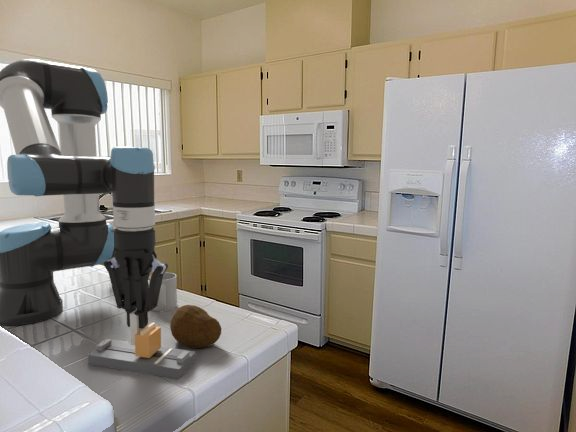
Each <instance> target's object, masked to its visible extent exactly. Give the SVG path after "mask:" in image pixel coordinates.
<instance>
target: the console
mask: <svg viewBox="0 0 576 432" xmlns="http://www.w3.org/2000/svg"><path fill="white" fill-rule="evenodd" d="M95 348H96V349H94V350H92V351H91V352H89V353H88V354H87V362H88V363H87V364H88V365H92V366H98V367H102V368H111V369H117V370H122V371H129V372H135V373H140V374H147V375H153V376H159V377H164V378H165V377H166V378H170V379H176V380H177V379H178V380H179V379H180V378H182V376H183V375H184V374H186V372H187V371H188V370H189V369H190V368H191V367H192V365H193V364H194V363H195V362H196V360H197V352H196V351H195V350H188V349H180V348H173V347H167V346H161V348H160V349H159V350H158V351H157V352H156V353H154V354H153V355H152V356H151V357H150V358H145V357H139V356H135V345H131V341H126V340H119V339H108V338H107V339H104V340H103V341H101V342H100V343H98V344H97V345H96V347H95Z"/></svg>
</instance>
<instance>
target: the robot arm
mask: <svg viewBox="0 0 576 432" xmlns="http://www.w3.org/2000/svg"><path fill="white" fill-rule="evenodd" d="M108 102H109V99H108V90H107V86H106V83H105V80H104V78H103V76H102V74H100V73H99V71H97V70H95V69H93V68H87V67H83V66H82V65H72V64H67V63H59V62H54V61H53V62H52V61H46V60H41V59H35V58H28V59H27V58H26V59H25V58H24V59H20V60H17V61H14V62H11V63H9V64H8V65H6V66H4V67H3V68H2V69H1V70H0V107H1V108H2V110H3V112H4V115H5V118H6V123H7V126H8V130H9V133H10V137H11V140H12V144H13V149H14V153H15V154H11V155H9V156H8V158H7V160H6V161H7V163H6V166H7V167H6V171H7V181H8V186H9V190H10V193H12V194H14V195H16V196H34V197H42V196H44V197H45V196H63V207H64V208H63V210H64V211H63V212H64V214H63V215H62V216H61V217H60V218H59V219H58V226H57V227H52V225H51V224H50V223H49V222H42V221H41V222H31V223H24V224H19V225H15V226H11V227H8V228H4V229H3V230H0V324H1V325H2V326H22V325H24V326H25V325H29V324H33V323H34V324H35V323H38V322H42V321H46V320H49V319H51V318H53V317H55V316H57V315H59V314H60V313H61V312H62V311H63V309H64V307H63V304H64V303H63V298H62V297H61V296H60V294H59V291H58V289H57V286H56V284H55V281H54V272H59V271H65V270H72V269H80V268H86V267H87V268H88V267H91V268H92V267H94V266H95V267H96V266H99V265H103V266H104V268H105V270H106V271H107V273H108V276H109V280H110V284H111V288H112V292H113V295H114V300H115V303H116V307H117V308H118V309H123V310H124V311H125V312H126V325H127V328H129V331H130V332H129V333H130V336H129V337H130V342H131V345H135V334H136V333H138V332H139V331H140V330H142V329H143V328H145V327H146V326H147V325H149V314H148V313H149V312H151V311H153V310H152V309H154V308H155V307H157V303H158V298H159V293H160V289H161V284H162V279H163V274H164V273H166V271H167V270H168V268H169V265H168V263H166V262H165V263H164V262H163V263H162V262H161V261H160V260H158V259H157V258H158V256H157V254H156V251H155V248H156V228H155V227H154V226H155V225H156V209H155V207H156V206H155V169H156V168H155V162H154V161H155V160H154V153H153V150H152V149H150V148H149V147H141V146H140V147H139V146H138V147H137V146H114V147H112V149H111V151H110V156H97V155H98V152H97V135H96V125H97V124H98V123H100V121H101V120H102V119H101V118H102V116H101V115H103V114H104V115H105V114H106V113H107V112H108V108H109V107H108V104H109V103H108ZM45 109H48V110H50V112H51V118H53V119H54V120H55V121H56V122H57V123H58V127H59V128H58V129H59V130H58V132H59V144H60V146H59V144H58V141H57V139H56V136H55V133H54V130H53V128H52V125H51V122H50V120H49V117H48V115H47V113H46V112H47V111H46V110H45ZM100 194H102V195H103V194H111V195H112V214H113V215H112V217H113V221H112V222H113V225H112V224H111V223H109V222H107V218H106V216H105V215H103V214H102V213H101V211H100V209H101V208H100ZM114 227H115V229H114ZM114 247H115V248H116V252H115V254H114V258H112V259H111V260H110V258H111V256H112V254H113V250H114ZM152 266H153V268H152V271H151V272H149V270H150V268H151V267H152ZM151 275H152V276H151ZM149 276H151V280H150V285H149Z"/></svg>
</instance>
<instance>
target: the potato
mask: <svg viewBox="0 0 576 432" xmlns="http://www.w3.org/2000/svg"><path fill="white" fill-rule="evenodd" d="M169 322H170V333H171V335H172V337H173V338H174V340H175V341H176V342H177V343H178V344H181V345H184V346H187V347H189V348H194V349H204V348H208V347H210V346H212V345H214V344H215V343H216V342H217V341H218V340H219V339H220V337H221V335H222V326H221V324H220V321H219V320H217V318H214V317H213V316H211V315H210V314H209V313H208V312H207V311H206V310H205V309H204V308H202V307H199V306H198V305H192V304H185V305H182V306H180V307H179V308H177V309H176V310H175V312H174V313H173V315H172V316H171V320H170V321H169Z"/></svg>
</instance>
